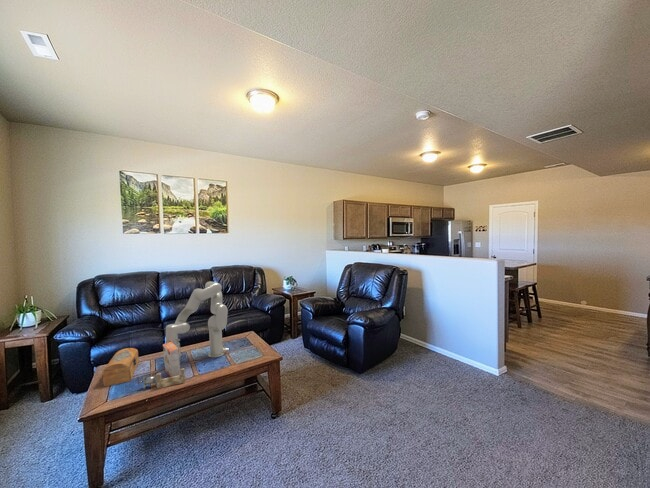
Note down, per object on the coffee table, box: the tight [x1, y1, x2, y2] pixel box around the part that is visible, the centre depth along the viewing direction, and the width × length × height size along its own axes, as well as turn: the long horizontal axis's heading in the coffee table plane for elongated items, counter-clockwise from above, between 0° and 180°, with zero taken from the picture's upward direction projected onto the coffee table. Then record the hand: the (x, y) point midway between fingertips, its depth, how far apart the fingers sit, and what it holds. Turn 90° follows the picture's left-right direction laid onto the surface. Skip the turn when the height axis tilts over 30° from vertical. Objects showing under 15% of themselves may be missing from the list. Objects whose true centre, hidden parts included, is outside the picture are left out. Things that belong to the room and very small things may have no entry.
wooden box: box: [101, 347, 139, 388], centre depth 197 cm, size 30×16×14 cm, turn 24°
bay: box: [156, 367, 186, 390], centre depth 185 cm, size 16×10×9 cm, turn 115°
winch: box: [136, 373, 158, 390], centre depth 179 cm, size 11×4×8 cm, turn 115°
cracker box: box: [162, 342, 181, 377], centre depth 193 cm, size 14×6×21 cm, turn 47°
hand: (172, 366), depth 202 cm, fingers closed
